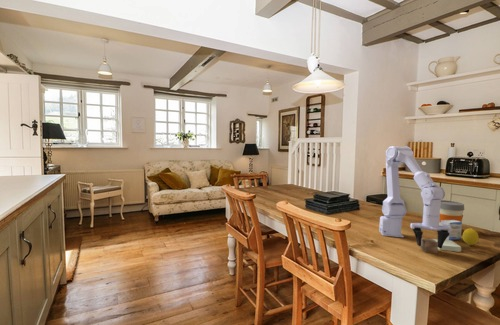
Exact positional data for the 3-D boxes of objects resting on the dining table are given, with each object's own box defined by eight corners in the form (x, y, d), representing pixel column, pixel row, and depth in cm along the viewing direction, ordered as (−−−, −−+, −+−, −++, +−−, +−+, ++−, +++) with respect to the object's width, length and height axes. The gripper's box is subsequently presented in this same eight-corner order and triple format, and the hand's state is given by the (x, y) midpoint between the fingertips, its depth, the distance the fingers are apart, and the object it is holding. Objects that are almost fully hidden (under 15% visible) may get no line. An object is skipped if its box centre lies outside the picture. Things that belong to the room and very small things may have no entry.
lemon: (461, 242, 119) (463, 225, 119) (477, 245, 116) (478, 228, 115) (461, 245, 115) (463, 228, 115) (478, 249, 112) (479, 231, 111)
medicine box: (448, 240, 121) (450, 222, 120) (439, 237, 125) (440, 220, 125) (461, 239, 123) (462, 221, 122) (451, 236, 127) (452, 219, 127)
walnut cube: (425, 252, 107) (425, 241, 107) (420, 248, 111) (421, 238, 111) (437, 253, 106) (438, 243, 106) (432, 249, 110) (433, 239, 110)
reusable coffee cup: (434, 231, 134) (436, 203, 133) (431, 225, 145) (432, 199, 144) (465, 236, 128) (467, 206, 127) (459, 229, 139) (461, 201, 138)
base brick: (439, 250, 110) (439, 245, 110) (430, 243, 118) (431, 238, 118) (460, 252, 108) (461, 247, 108) (450, 245, 116) (451, 240, 116)
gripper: (415, 215, 105) (413, 248, 106) (456, 219, 102) (453, 252, 103) (409, 211, 112) (407, 241, 113) (447, 214, 109) (445, 245, 110)
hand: (429, 246), depth 109 cm, fingers open, 7 cm apart
